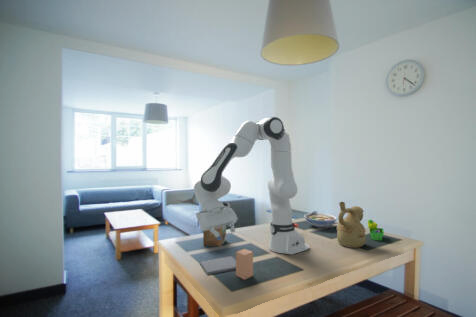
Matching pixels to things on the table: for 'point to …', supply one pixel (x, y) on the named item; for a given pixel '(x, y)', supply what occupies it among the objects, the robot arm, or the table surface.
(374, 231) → the fruit basket
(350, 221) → the ceramic vessel
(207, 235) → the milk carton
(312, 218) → the ramen bowl
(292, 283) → the table surface
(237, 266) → the block
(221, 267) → the mat
